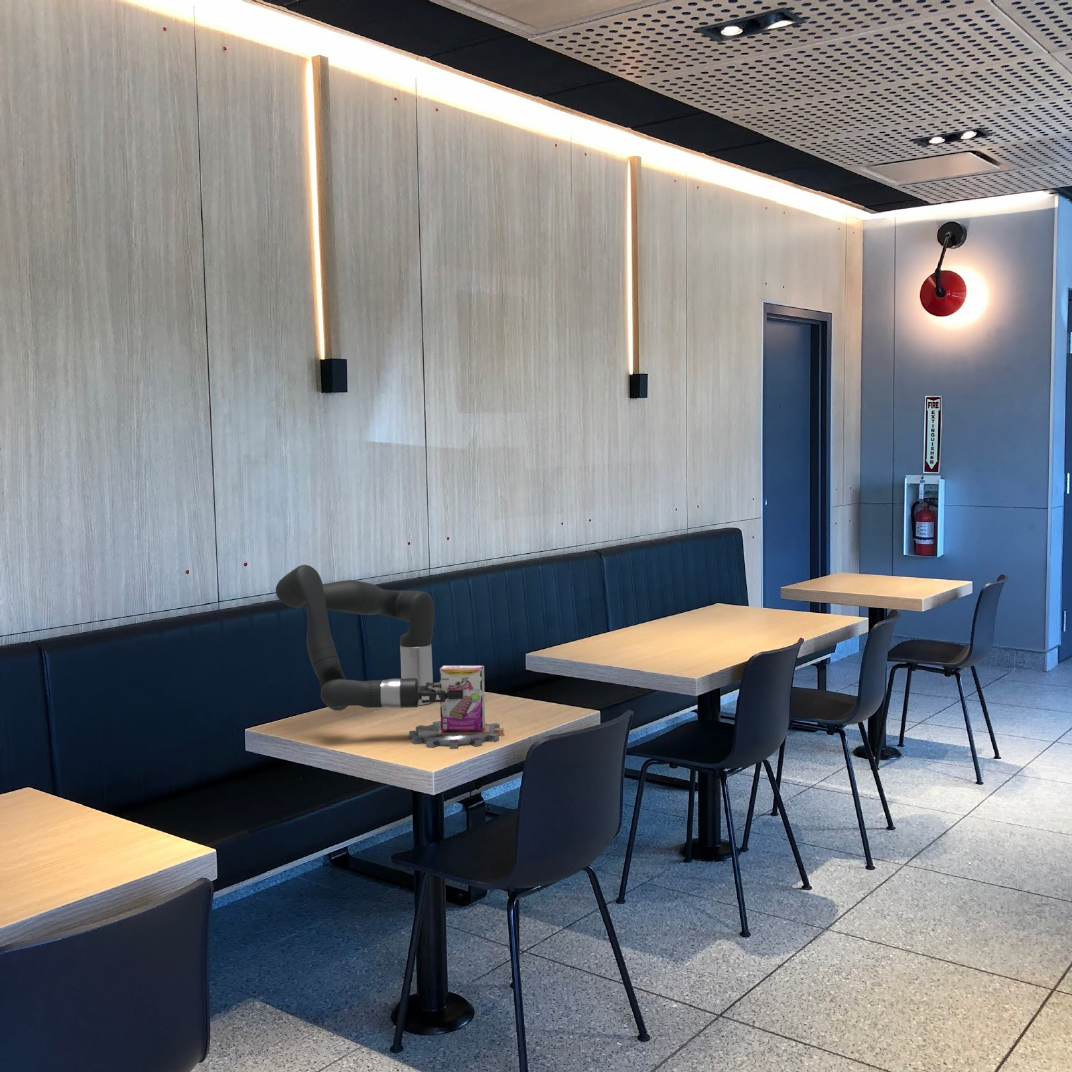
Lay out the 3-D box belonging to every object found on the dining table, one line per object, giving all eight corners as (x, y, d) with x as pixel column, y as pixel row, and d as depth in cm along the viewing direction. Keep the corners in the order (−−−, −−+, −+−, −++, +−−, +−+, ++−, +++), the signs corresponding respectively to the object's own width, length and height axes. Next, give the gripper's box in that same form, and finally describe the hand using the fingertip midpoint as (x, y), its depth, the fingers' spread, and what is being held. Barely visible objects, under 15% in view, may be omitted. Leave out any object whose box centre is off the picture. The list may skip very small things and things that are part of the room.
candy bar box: (440, 731, 287) (438, 668, 286) (443, 727, 292) (441, 665, 291) (483, 731, 286) (481, 668, 285) (485, 727, 291) (484, 664, 290)
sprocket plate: (414, 726, 301) (413, 720, 301) (504, 723, 301) (504, 717, 301) (404, 749, 277) (404, 743, 276) (502, 746, 277) (502, 740, 277)
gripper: (396, 684, 280) (462, 682, 281) (402, 673, 295) (464, 671, 295) (397, 713, 281) (463, 712, 281) (403, 701, 295) (465, 699, 296)
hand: (463, 691), depth 288 cm, fingers open, 7 cm apart
